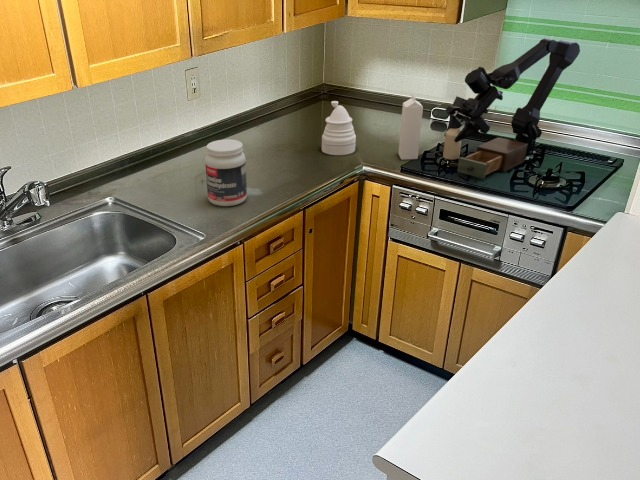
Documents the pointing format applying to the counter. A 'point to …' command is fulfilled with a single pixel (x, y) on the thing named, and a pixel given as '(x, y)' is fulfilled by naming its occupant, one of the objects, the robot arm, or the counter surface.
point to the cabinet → (506, 151)
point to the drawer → (480, 163)
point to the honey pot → (338, 132)
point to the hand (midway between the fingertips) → (449, 139)
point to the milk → (410, 129)
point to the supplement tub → (226, 172)
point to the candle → (452, 144)
